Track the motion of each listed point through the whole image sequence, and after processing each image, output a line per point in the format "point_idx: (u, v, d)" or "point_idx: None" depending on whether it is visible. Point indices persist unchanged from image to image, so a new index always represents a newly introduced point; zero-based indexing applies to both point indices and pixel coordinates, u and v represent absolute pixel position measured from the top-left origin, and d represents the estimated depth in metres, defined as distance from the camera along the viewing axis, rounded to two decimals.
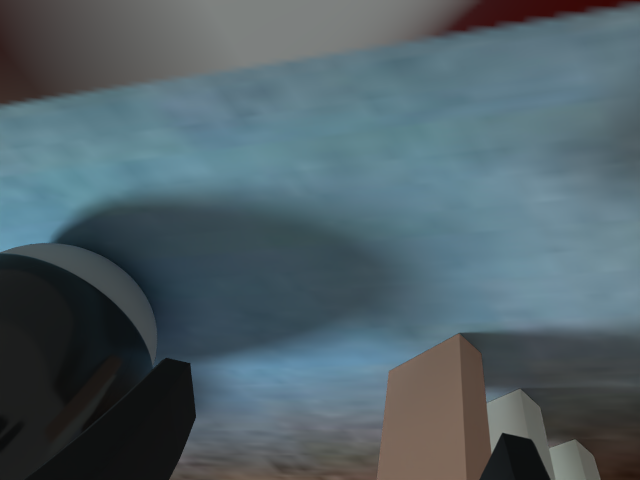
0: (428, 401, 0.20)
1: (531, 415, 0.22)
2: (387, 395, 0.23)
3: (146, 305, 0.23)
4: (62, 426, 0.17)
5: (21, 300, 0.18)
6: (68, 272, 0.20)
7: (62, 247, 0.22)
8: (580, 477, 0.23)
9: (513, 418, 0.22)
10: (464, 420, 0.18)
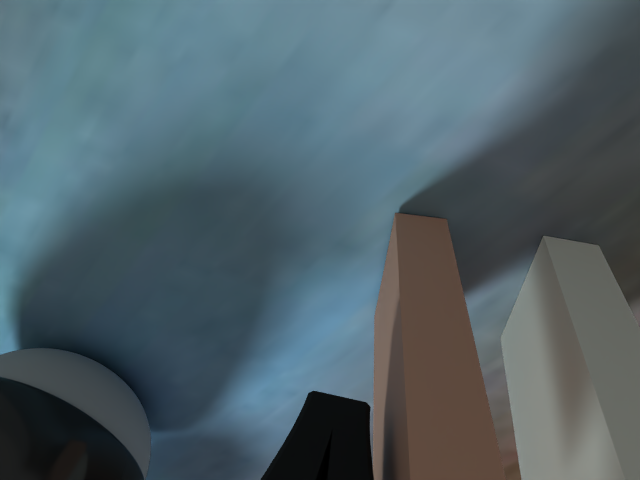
0: (387, 321, 0.13)
1: (574, 260, 0.14)
2: (374, 346, 0.16)
3: (92, 375, 0.20)
4: None
5: None
6: None
7: None
8: None
9: (545, 279, 0.14)
10: (403, 316, 0.11)
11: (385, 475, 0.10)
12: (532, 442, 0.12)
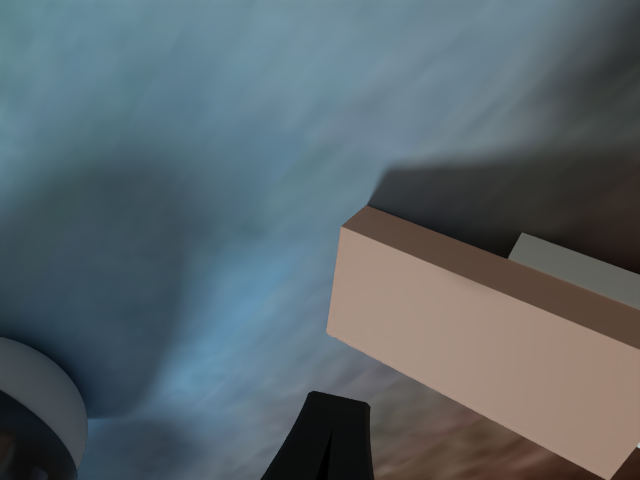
0: (426, 314, 0.14)
1: (553, 260, 0.13)
2: (366, 352, 0.16)
3: (23, 359, 0.21)
4: None
5: None
6: None
7: None
8: None
9: None
10: (501, 291, 0.12)
11: (563, 400, 0.13)
12: None
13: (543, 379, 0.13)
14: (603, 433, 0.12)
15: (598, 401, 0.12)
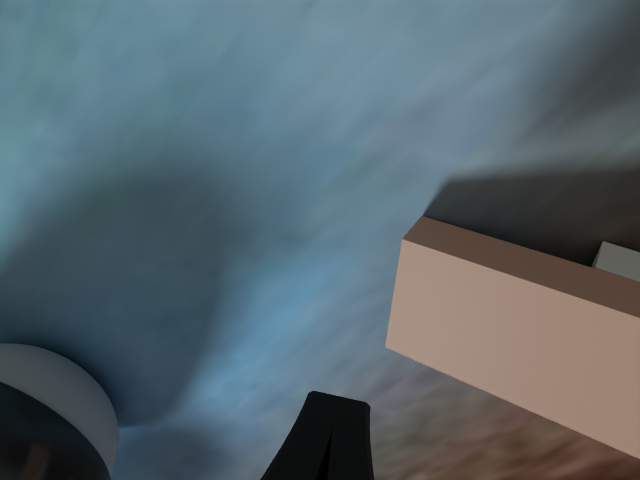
0: (494, 323, 0.14)
1: None
2: (429, 364, 0.16)
3: (57, 369, 0.21)
4: None
5: None
6: None
7: None
8: None
9: None
10: (578, 296, 0.12)
11: None
12: None
13: (625, 383, 0.12)
14: None
15: None
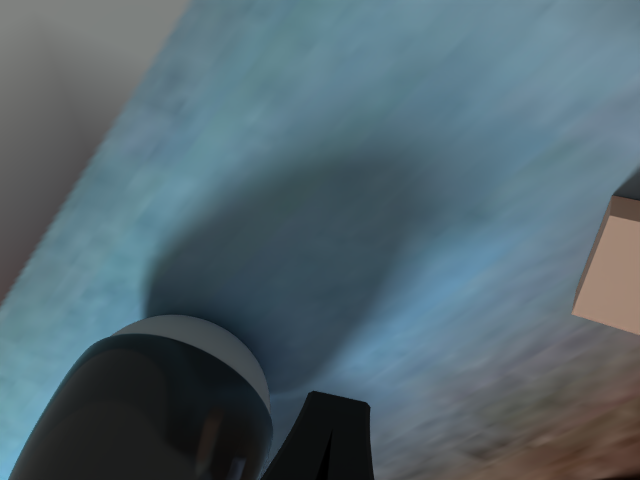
0: None
1: None
2: (618, 326, 0.18)
3: (226, 337, 0.23)
4: (166, 466, 0.17)
5: (99, 371, 0.19)
6: (134, 334, 0.21)
7: None
8: None
9: None
10: None
11: None
12: None
13: None
14: None
15: None
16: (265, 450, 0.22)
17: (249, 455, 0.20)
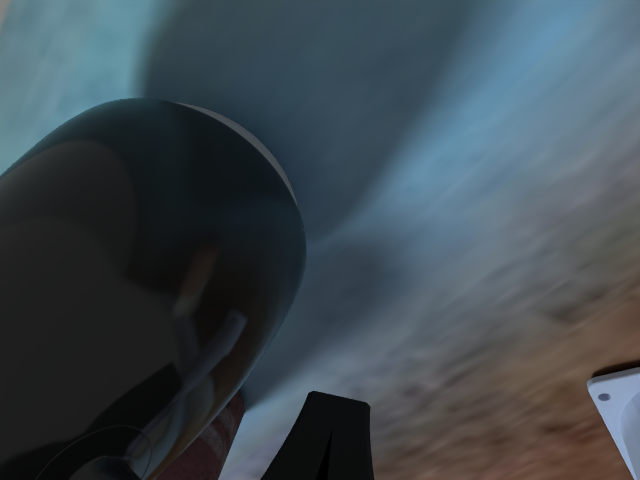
0: None
1: None
2: None
3: (245, 129, 0.17)
4: (164, 221, 0.12)
5: (70, 127, 0.14)
6: (121, 99, 0.15)
7: None
8: None
9: None
10: None
11: None
12: None
13: None
14: None
15: None
16: (298, 268, 0.16)
17: (279, 255, 0.15)
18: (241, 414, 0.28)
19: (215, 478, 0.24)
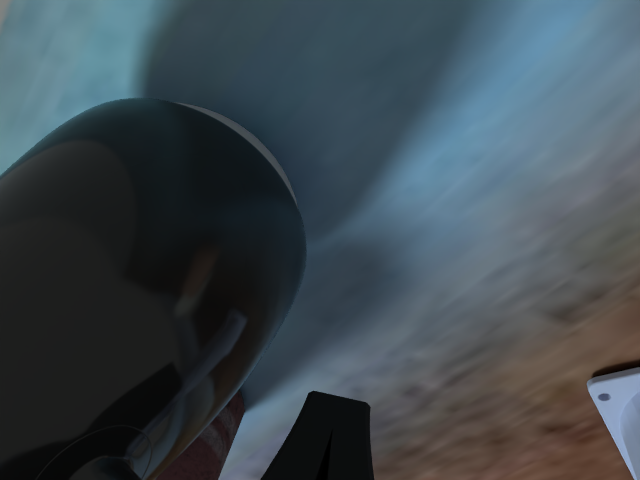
0: None
1: None
2: None
3: (245, 129, 0.17)
4: (164, 221, 0.12)
5: (70, 127, 0.14)
6: (121, 99, 0.15)
7: None
8: None
9: None
10: None
11: None
12: None
13: None
14: None
15: None
16: (298, 268, 0.16)
17: (279, 255, 0.15)
18: (241, 414, 0.28)
19: (215, 478, 0.24)
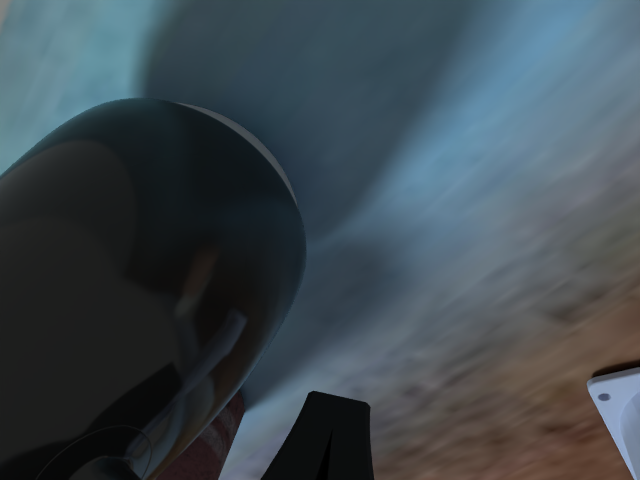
0: None
1: None
2: None
3: (245, 129, 0.17)
4: (164, 221, 0.12)
5: (70, 127, 0.14)
6: (121, 99, 0.15)
7: None
8: None
9: None
10: None
11: None
12: None
13: None
14: None
15: None
16: (298, 268, 0.16)
17: (279, 255, 0.15)
18: (241, 414, 0.28)
19: (215, 478, 0.24)
